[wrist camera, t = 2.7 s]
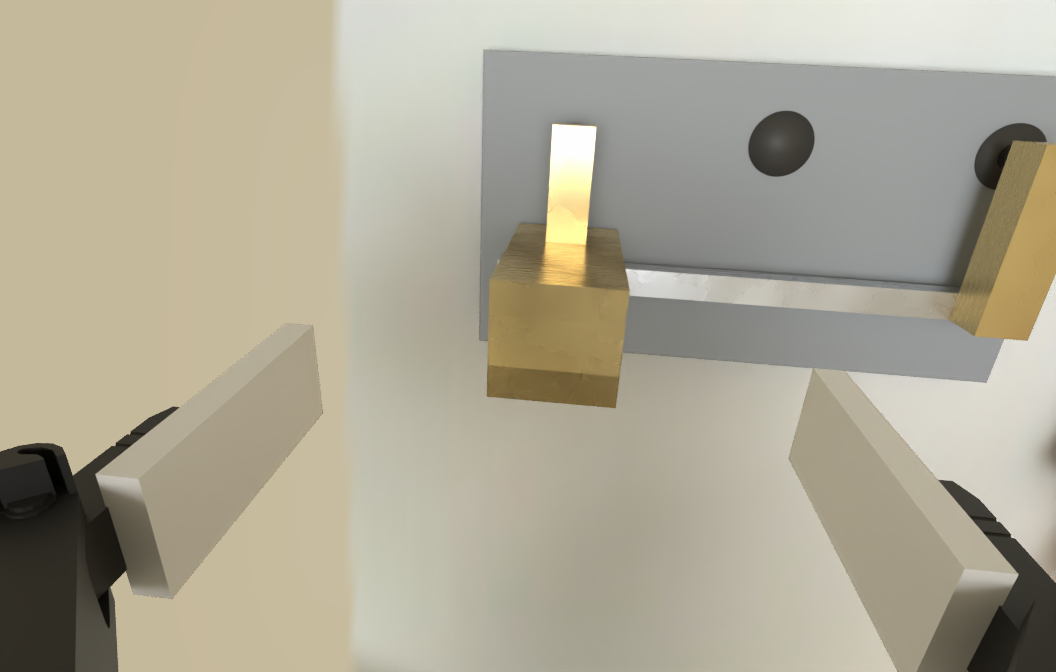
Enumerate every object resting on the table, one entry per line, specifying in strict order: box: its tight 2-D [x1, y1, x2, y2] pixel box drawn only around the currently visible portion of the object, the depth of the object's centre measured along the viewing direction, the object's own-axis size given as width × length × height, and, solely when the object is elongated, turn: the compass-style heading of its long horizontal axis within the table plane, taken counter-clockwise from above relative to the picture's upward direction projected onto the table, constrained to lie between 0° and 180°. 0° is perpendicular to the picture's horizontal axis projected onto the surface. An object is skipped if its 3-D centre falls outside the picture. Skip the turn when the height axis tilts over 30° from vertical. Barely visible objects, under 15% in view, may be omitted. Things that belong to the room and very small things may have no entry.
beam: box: [497, 140, 1056, 341], centre depth 24 cm, size 22×7×3 cm, turn 87°
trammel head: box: [487, 122, 630, 408], centre depth 22 cm, size 4×9×8 cm, turn 177°
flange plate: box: [479, 50, 1056, 383], centre depth 26 cm, size 24×13×1 cm, turn 87°
